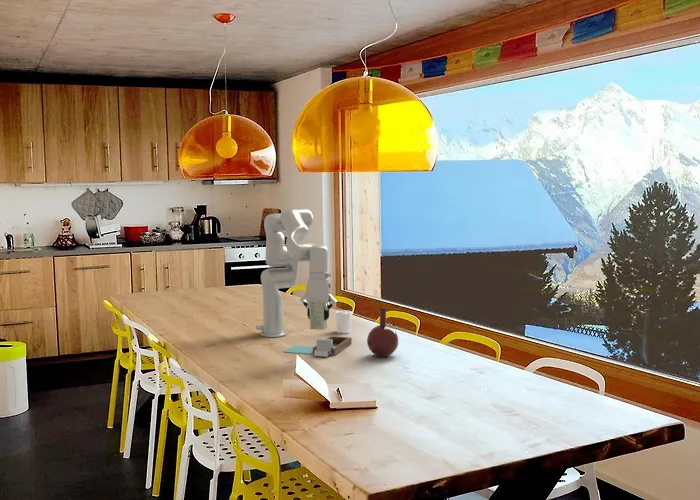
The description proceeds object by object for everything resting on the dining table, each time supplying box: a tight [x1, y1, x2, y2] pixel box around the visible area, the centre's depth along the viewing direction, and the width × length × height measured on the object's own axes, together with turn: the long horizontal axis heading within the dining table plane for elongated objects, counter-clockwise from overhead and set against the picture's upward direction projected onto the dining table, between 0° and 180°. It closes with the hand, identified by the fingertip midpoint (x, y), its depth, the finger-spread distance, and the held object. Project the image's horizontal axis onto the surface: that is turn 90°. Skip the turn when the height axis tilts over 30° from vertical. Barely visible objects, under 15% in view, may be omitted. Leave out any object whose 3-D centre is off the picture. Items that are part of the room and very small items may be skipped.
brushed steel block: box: [313, 338, 334, 358], centre depth 316 cm, size 6×6×6 cm
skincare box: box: [309, 301, 328, 331], centre depth 309 cm, size 6×4×12 cm
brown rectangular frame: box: [312, 335, 353, 357], centre depth 329 cm, size 10×23×3 cm, turn 163°
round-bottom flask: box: [366, 308, 399, 358], centre depth 315 cm, size 13×13×20 cm
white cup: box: [335, 309, 353, 335], centre depth 363 cm, size 8×8×10 cm
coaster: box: [283, 345, 314, 355], centre depth 326 cm, size 12×12×1 cm
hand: (318, 318), depth 310 cm, fingers closed on skincare box, 6 cm apart
